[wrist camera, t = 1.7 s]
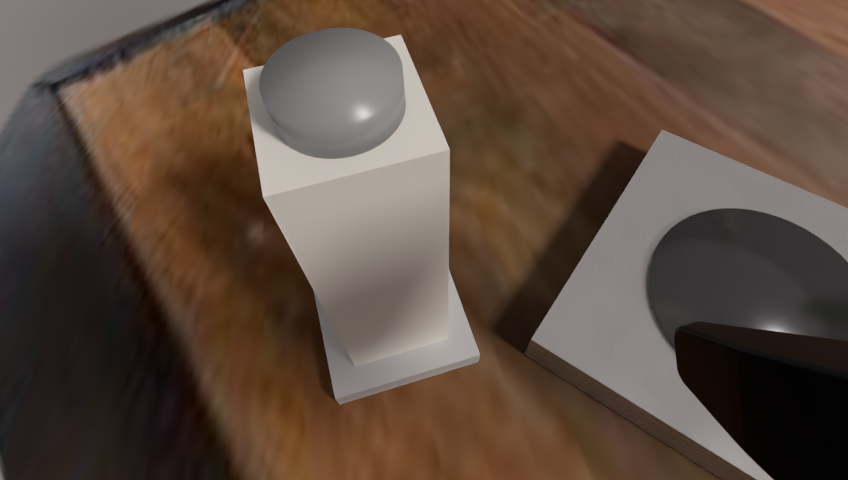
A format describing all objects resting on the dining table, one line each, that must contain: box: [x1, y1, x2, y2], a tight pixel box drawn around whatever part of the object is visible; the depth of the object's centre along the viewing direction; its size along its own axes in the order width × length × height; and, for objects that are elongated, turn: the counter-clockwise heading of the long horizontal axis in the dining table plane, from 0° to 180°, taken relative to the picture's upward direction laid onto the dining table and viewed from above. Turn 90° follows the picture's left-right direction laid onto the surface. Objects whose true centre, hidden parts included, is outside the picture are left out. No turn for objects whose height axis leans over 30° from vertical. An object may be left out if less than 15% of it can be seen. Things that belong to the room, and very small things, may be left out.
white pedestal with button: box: [243, 28, 480, 405], centre depth 17 cm, size 6×6×14 cm
